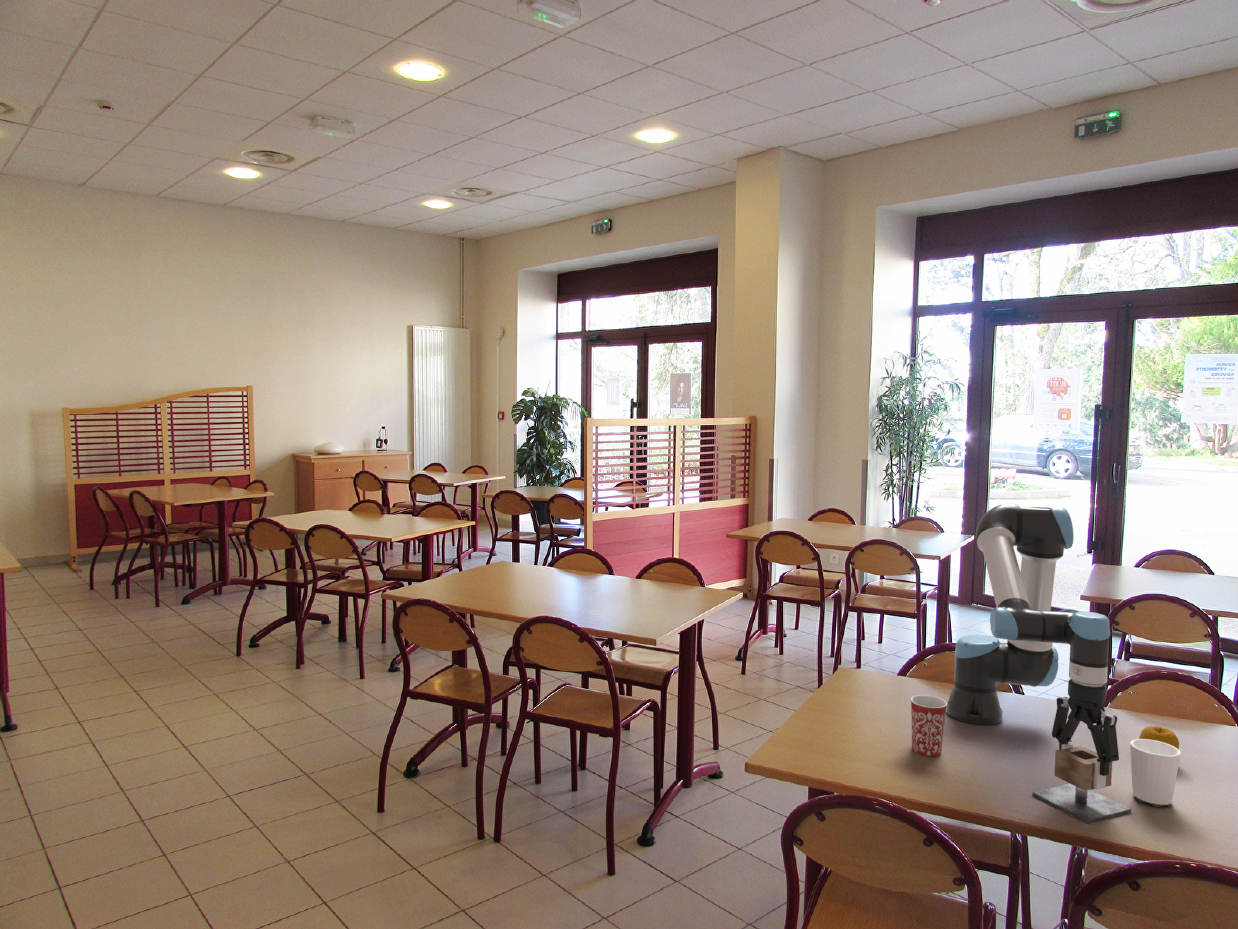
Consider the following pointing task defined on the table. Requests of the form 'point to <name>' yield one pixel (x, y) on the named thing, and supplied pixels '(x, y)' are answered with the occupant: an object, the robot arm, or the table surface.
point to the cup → (1154, 771)
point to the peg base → (1081, 803)
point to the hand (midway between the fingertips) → (1082, 779)
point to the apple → (1160, 735)
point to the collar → (1078, 767)
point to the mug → (927, 724)
